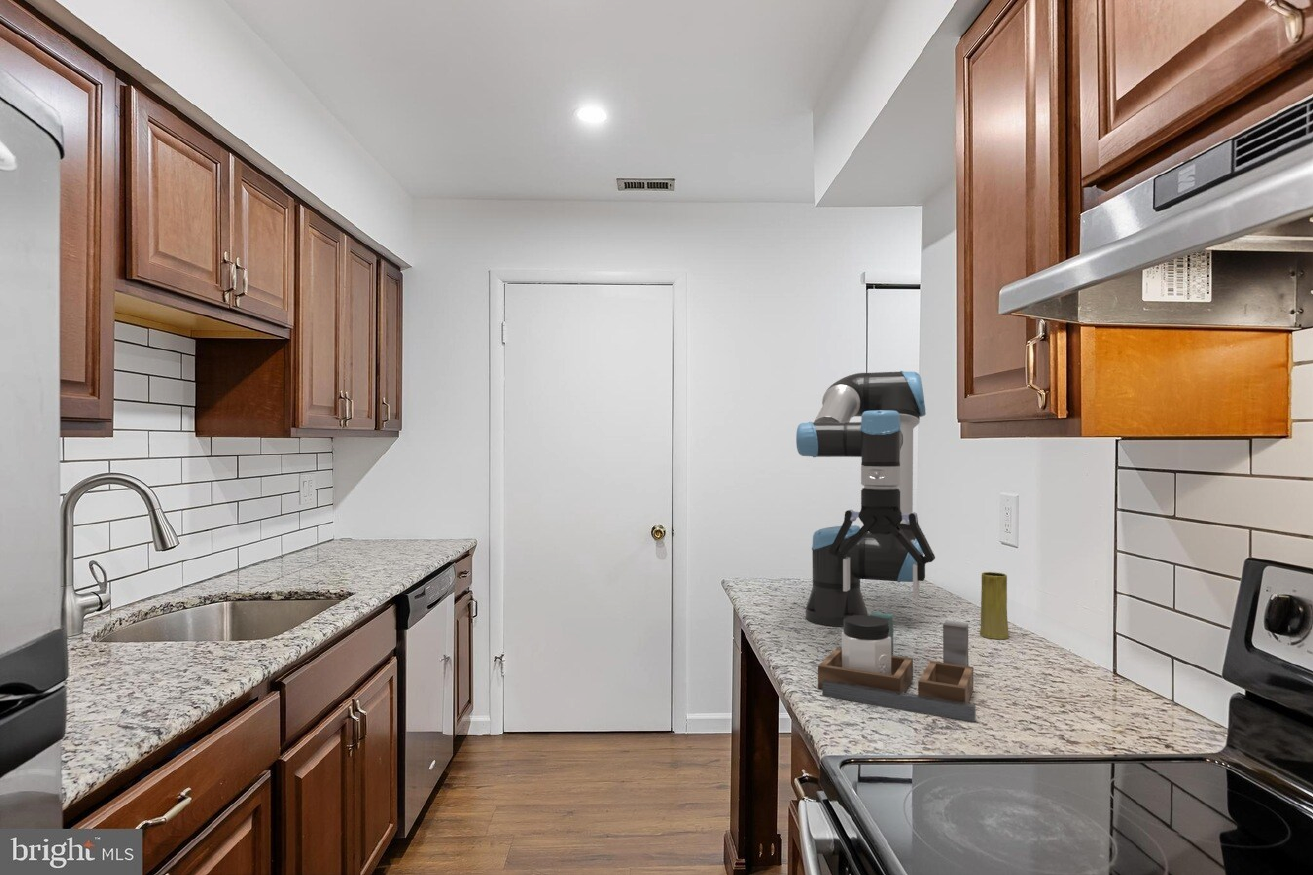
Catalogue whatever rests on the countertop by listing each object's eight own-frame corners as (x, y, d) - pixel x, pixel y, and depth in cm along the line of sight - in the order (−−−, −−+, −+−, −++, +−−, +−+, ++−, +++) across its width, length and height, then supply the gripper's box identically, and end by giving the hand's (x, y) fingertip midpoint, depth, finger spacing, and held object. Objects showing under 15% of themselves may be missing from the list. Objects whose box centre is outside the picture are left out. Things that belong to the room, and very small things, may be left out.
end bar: (824, 692, 131) (824, 679, 131) (975, 718, 119) (975, 704, 119) (822, 695, 130) (822, 682, 130) (974, 722, 118) (974, 707, 118)
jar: (867, 696, 130) (867, 628, 130) (832, 683, 136) (832, 619, 136) (900, 686, 135) (900, 621, 134) (865, 674, 141) (865, 612, 141)
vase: (1006, 641, 163) (1005, 577, 163) (976, 636, 167) (976, 574, 167) (1011, 635, 168) (1011, 573, 168) (983, 631, 172) (982, 570, 172)
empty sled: (936, 669, 143) (936, 619, 143) (978, 675, 140) (977, 623, 139) (918, 704, 125) (918, 646, 125) (964, 712, 121) (964, 652, 121)
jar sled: (847, 657, 152) (847, 608, 152) (920, 667, 145) (920, 617, 145) (817, 687, 133) (817, 633, 133) (899, 701, 126) (899, 643, 126)
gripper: (814, 486, 149) (814, 590, 149) (944, 490, 137) (944, 603, 137) (824, 484, 156) (824, 584, 155) (949, 488, 143) (949, 596, 143)
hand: (880, 593), depth 146 cm, fingers open, 13 cm apart
